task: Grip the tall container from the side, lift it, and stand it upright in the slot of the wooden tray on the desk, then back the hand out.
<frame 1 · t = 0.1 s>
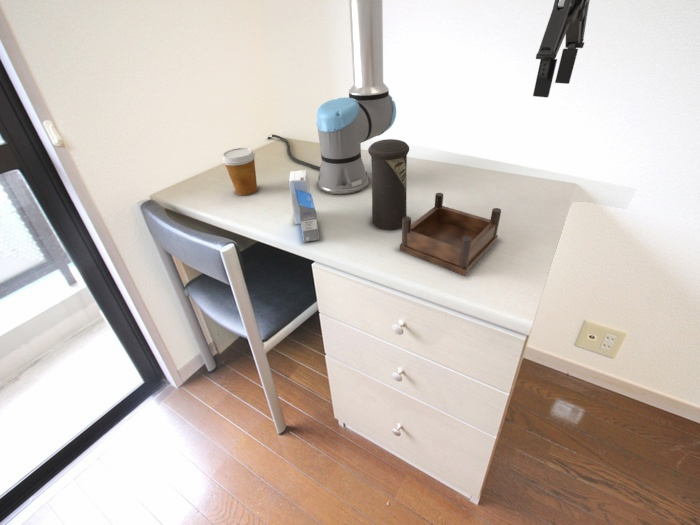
hand: (551, 89, 77), 28 cm above the table, tool pointing down, fingers open, 13 cm apart
wooden tray: (448, 245, 82), on the table
disposable coffee cup: (247, 191, 113), on the table
tape cartridge: (310, 233, 91), on the table, touching cosmetic box
cosmetic box: (304, 219, 97), on the table, touching tape cartridge
container: (388, 222, 92), on the table
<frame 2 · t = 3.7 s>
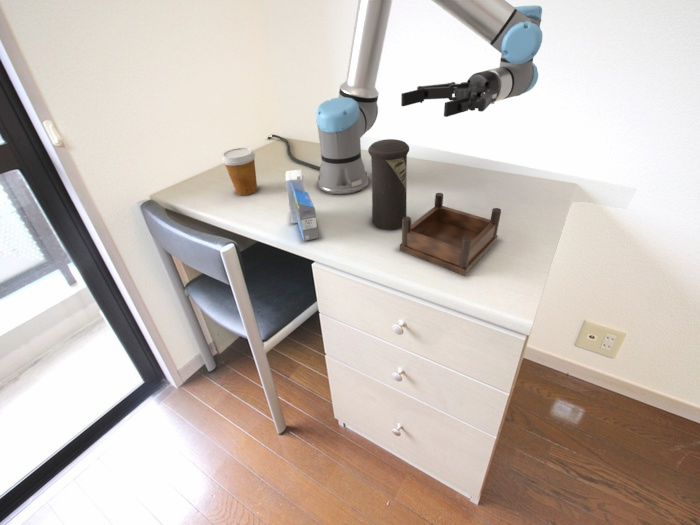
hand: (422, 104, 81), 26 cm above the table, tool horizontal, fingers open, 13 cm apart
cosmetic box: (300, 218, 97), on the table, touching tape cartridge
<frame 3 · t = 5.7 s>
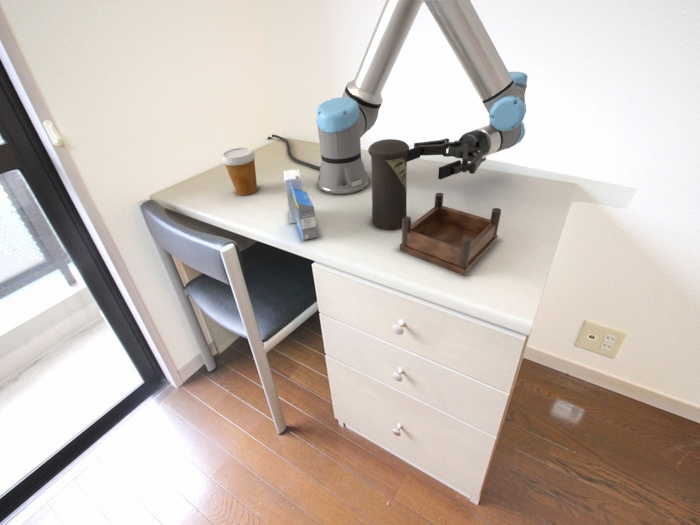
hand: (418, 165, 89), 12 cm above the table, tool horizontal, fingers open, 13 cm apart
tape cartridge: (307, 231, 92), on the table
cosmetic box: (298, 217, 98), on the table
everything else where it was.
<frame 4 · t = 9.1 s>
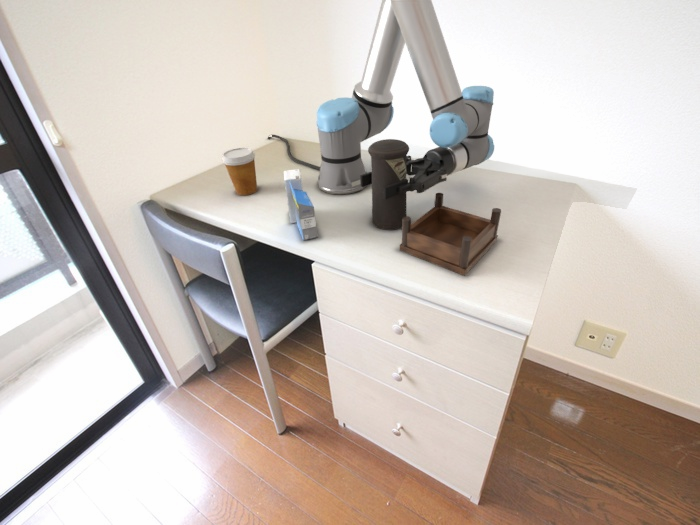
hand: (372, 187, 84), 11 cm above the table, tool horizontal, fingers closed on container, 8 cm apart
container: (388, 222, 92), on the table, touching gripper
everything else where it was.
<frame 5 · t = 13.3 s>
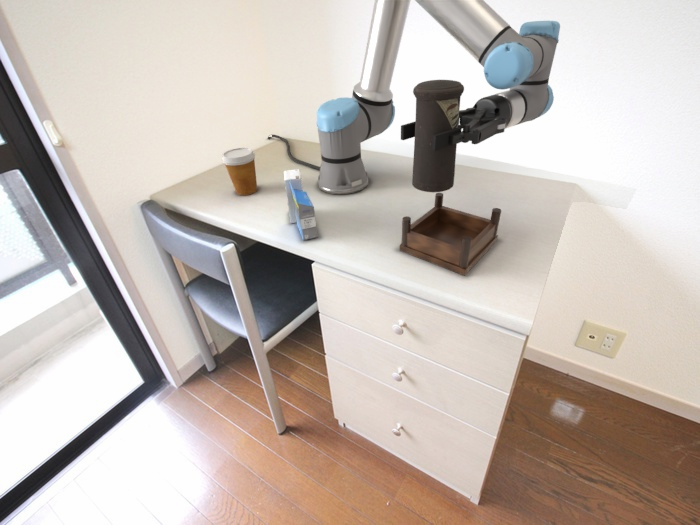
hand: (417, 137, 69), 24 cm above the table, tool horizontal, fingers closed on container, 8 cm apart
container: (432, 185, 78), point 13 cm above the table, touching gripper
everything else where it was.
when the fingers open (12 cm above the table, at t = 17.6 s): container stays where it is, resting on wooden tray.
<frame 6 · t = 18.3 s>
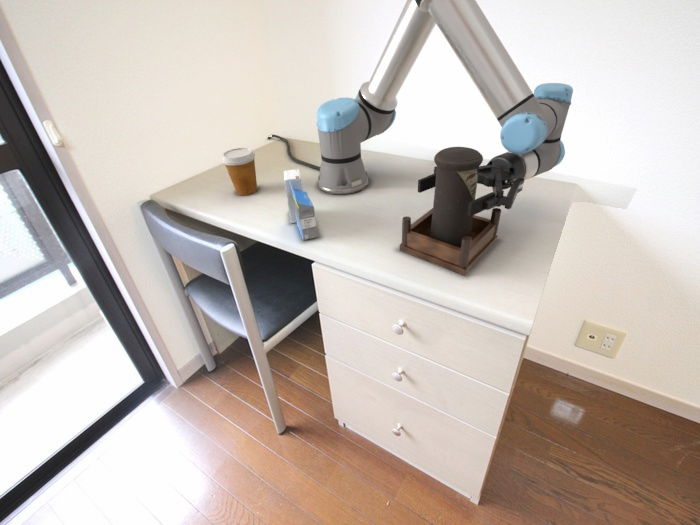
hand: (442, 197, 73), 13 cm above the table, tool horizontal, fingers open, 13 cm apart
container: (449, 240, 81), point 1 cm above the table, touching wooden tray
everything else where it was.
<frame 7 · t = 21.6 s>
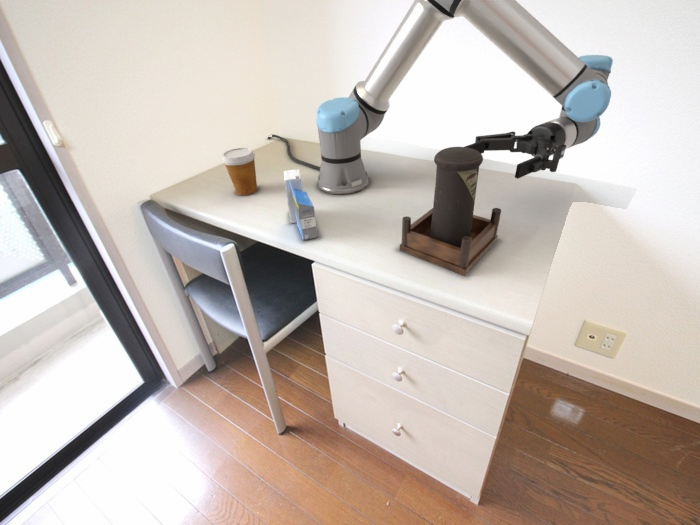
hand: (488, 162, 76), 17 cm above the table, tool horizontal, fingers open, 13 cm apart
nothing on the table moved.
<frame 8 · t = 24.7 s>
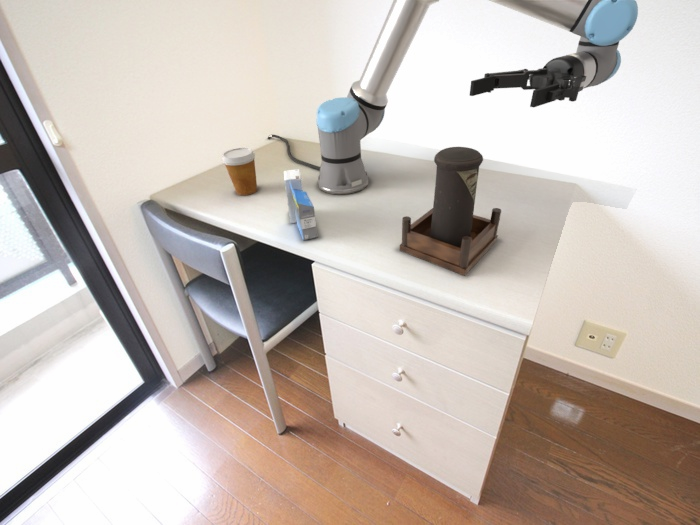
hand: (500, 93, 69), 30 cm above the table, tool horizontal, fingers open, 13 cm apart
nothing on the table moved.
at the end: container 0.0 cm off-centre on the wooden tray, point 1.3 cm above the wooden tray's base; container tilted 0°; the gripper is holding nothing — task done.
